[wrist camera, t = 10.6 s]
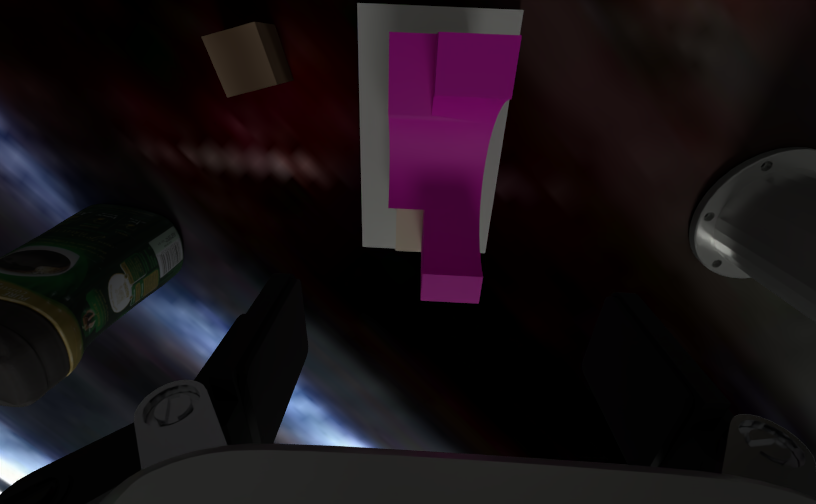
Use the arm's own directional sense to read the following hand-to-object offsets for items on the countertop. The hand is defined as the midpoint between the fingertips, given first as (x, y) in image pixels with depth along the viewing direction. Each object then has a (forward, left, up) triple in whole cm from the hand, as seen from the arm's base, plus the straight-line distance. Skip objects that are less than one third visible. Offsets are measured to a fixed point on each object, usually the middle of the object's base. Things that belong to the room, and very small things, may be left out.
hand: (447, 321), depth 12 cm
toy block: (0, -1, -18) cm, 18 cm away
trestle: (0, 0, -24) cm, 24 cm away
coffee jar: (+29, +11, -24) cm, 40 cm away
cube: (+14, -6, -24) cm, 29 cm away
